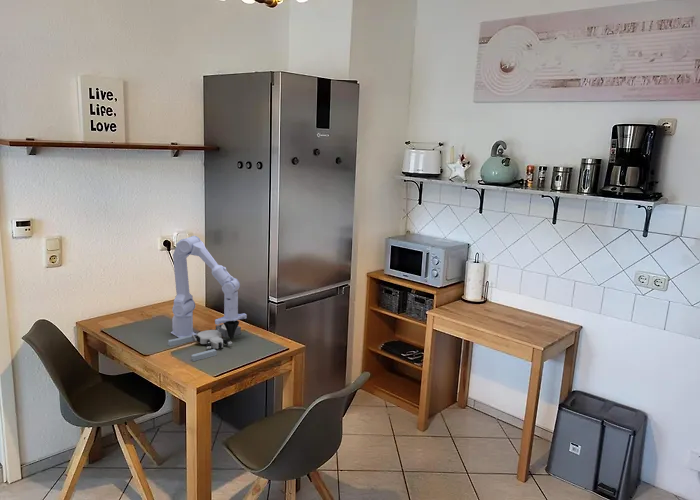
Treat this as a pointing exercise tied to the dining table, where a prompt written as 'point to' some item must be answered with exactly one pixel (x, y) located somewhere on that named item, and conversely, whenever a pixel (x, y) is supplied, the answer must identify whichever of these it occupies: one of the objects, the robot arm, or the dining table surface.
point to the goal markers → (194, 356)
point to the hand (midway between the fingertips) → (231, 337)
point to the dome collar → (225, 333)
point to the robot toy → (211, 339)
